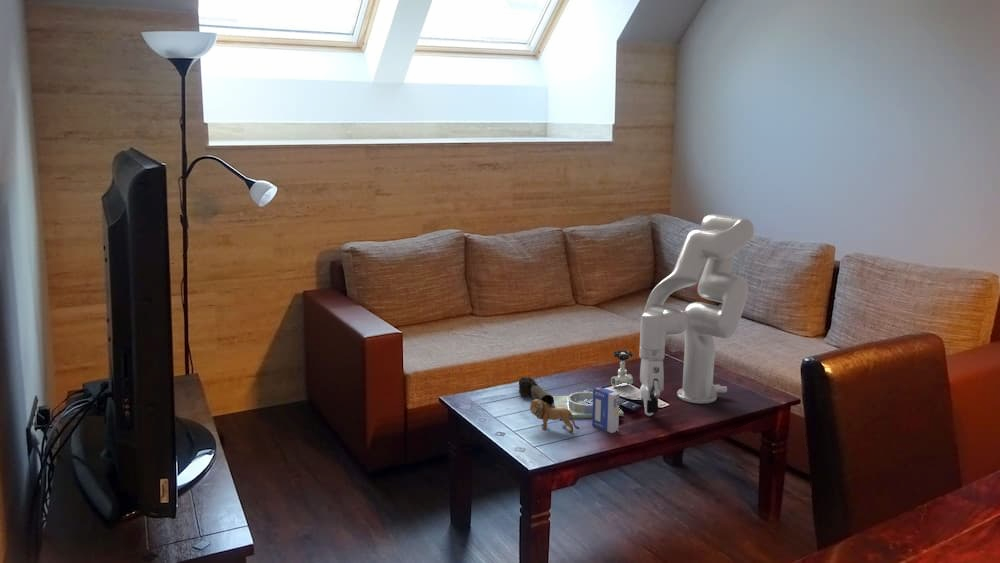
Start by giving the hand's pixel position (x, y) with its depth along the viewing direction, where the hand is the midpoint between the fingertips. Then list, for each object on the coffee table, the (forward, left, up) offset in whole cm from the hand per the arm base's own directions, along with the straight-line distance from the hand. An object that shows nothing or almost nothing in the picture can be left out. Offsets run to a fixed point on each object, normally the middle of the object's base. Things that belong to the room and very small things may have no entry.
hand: (649, 408), depth 246 cm
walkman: (+16, +8, -3) cm, 18 cm away
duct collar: (+18, -8, -2) cm, 20 cm away
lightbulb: (0, 0, -3) cm, 3 cm away
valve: (+2, -26, -3) cm, 26 cm away
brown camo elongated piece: (+33, -18, -3) cm, 38 cm away
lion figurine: (+31, +7, -3) cm, 32 cm away
